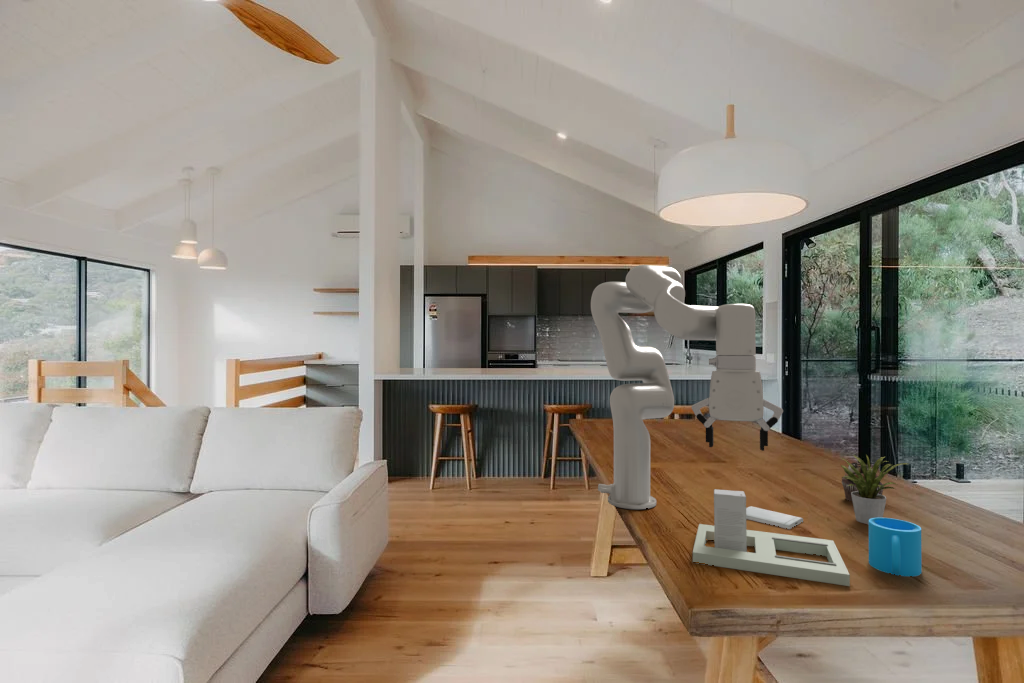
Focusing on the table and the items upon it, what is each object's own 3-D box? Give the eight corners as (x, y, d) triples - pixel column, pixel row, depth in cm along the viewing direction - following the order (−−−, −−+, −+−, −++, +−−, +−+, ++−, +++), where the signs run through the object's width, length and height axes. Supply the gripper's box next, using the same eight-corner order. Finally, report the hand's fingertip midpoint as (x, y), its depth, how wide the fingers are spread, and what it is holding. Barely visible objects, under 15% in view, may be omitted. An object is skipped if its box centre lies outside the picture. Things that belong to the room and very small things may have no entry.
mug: (868, 555, 108) (868, 514, 108) (919, 565, 103) (919, 522, 103) (868, 577, 98) (868, 532, 98) (925, 588, 93) (925, 541, 93)
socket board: (692, 562, 104) (692, 551, 104) (699, 532, 121) (699, 522, 121) (849, 586, 94) (849, 573, 94) (833, 550, 110) (833, 539, 110)
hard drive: (736, 512, 132) (789, 524, 123) (751, 505, 138) (803, 516, 129) (736, 519, 132) (789, 531, 123) (751, 512, 138) (803, 523, 129)
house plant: (903, 517, 132) (903, 450, 132) (918, 535, 120) (918, 461, 120) (836, 509, 138) (835, 445, 138) (843, 525, 126) (843, 455, 126)
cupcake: (888, 507, 140) (888, 469, 140) (845, 503, 143) (845, 466, 143) (879, 498, 149) (879, 461, 149) (838, 494, 152) (838, 458, 152)
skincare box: (745, 549, 111) (745, 491, 111) (746, 557, 107) (746, 496, 107) (713, 545, 113) (713, 488, 113) (714, 553, 109) (714, 493, 109)
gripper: (689, 364, 111) (690, 448, 111) (784, 365, 104) (784, 454, 104) (692, 363, 118) (693, 442, 117) (781, 364, 111) (782, 447, 111)
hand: (736, 447), depth 111 cm, fingers open, 9 cm apart
